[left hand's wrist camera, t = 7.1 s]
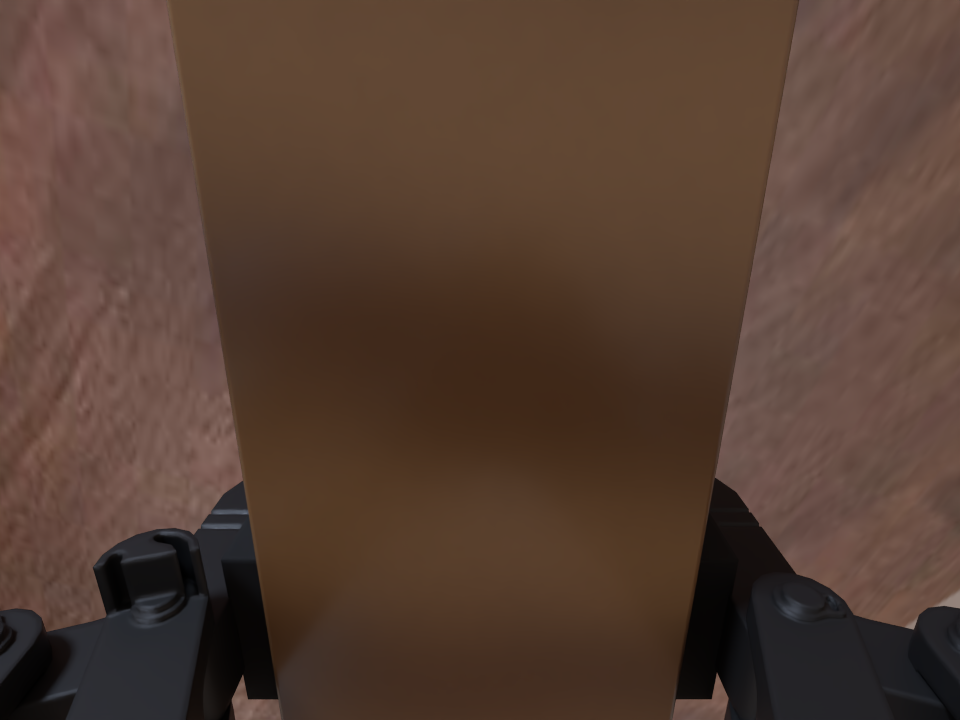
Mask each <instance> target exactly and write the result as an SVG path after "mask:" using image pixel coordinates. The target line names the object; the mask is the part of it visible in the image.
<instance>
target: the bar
mask: <svg viewBox="0 0 960 720" xmlns="http://www.w3.org/2000/svg"><path fill="white" fill-rule="evenodd" d="M166 2H167V8H168V15H169V21H170V27H171V33H172V40H173V46H174V52H175V58H176V64H177V71H178V77H179V83H180V89H181V96H182V102H183V108H184V114H185V121H186V127H187V133H188V139H189V145H190V152H191V158H192V164H193V170H194V177H195V183H196V189H197V195H198V202H199V208H200V214H201V220H202V226H203V233H204V239H205V245H206V251H207V258H208V264H209V270H210V276H211V283H212V289H213V295H214V301H215V307H216V314H217V320H218V326H219V332H220V339H221V345H222V351H223V357H224V364H225V370H226V376H227V382H228V388H229V395H230V401H231V407H232V413H233V420H234V426H235V432H236V438H237V445H238V451H239V457H240V463H241V469H242V476H243V482H244V488H245V494H246V501H247V507H248V513H249V519H250V526H251V532H252V538H253V544H254V551H255V557H256V563H257V569H258V575H259V582H260V588H261V594H262V600H263V607H264V613H265V619H266V625H267V632H268V638H269V644H270V650H271V656H272V663H273V669H274V675H275V681H276V688H277V694H278V700H279V706H280V713H281V719H282V720H672V718H673V712H674V706H675V701H676V695H677V689H678V684H679V678H680V672H681V667H682V661H683V655H684V650H685V644H686V638H687V633H688V627H689V621H690V616H691V610H692V604H693V599H694V593H695V587H696V582H697V576H698V570H699V565H700V559H701V553H702V548H703V542H704V536H705V531H706V525H707V519H708V514H709V508H710V502H711V497H712V491H713V485H714V480H715V474H716V468H717V463H718V457H719V451H720V446H721V440H722V434H723V429H724V423H725V417H726V412H727V406H728V400H729V395H730V389H731V383H732V377H733V372H734V366H735V360H736V355H737V349H738V343H739V338H740V332H741V326H742V321H743V315H744V309H745V304H746V298H747V292H748V287H749V281H750V275H751V270H752V264H753V258H754V253H755V247H756V241H757V236H758V230H759V224H760V219H761V213H762V207H763V202H764V196H765V190H766V185H767V179H768V173H769V168H770V162H771V156H772V151H773V145H774V139H775V134H776V128H777V122H778V117H779V111H780V105H781V100H782V94H783V88H784V83H785V77H786V71H787V66H788V60H789V54H790V49H791V43H792V37H793V32H794V26H795V20H796V15H797V9H798V3H799V0H166Z"/></svg>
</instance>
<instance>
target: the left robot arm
mask: <svg viewBox="0 0 960 720" xmlns="http://www.w3.org/2000/svg"><path fill="white" fill-rule="evenodd" d="M211 512H212V513H211V514H209V515H208V516H207V518H206V519H205V521H204V522H203V523H202V525H201V529H198V530H197V532H196V533H195V534H194V535H193V534H192V533H191V532H189V531H185V530H181V529H176V528H171V529H156V530H153V531H149V532H145V533H141V534H137V535H135V536H133V537H131V538H129V539H127V540H124V541H122V542H120V543H118V544H117V545H115V546H114V547H113V548H111V549H110V550H109V551H107V552H106V553H104V554H103V555H102V556H101V558H100V559H99V560H98V561H97V563H96V564H95V565H94V567H93V570H94V573H95V576H96V580H97V583H98V587H99V590H100V593H101V597H102V600H103V604H104V607H105V610H106V614H107V616H106V618H103V619H99V620H96V621H93V622H88V623H84V624H80V625H75V626H71V627H67V628H62V629H58V630H54V631H49V632H46V630H45V627H44V624H43V621H42V618H41V617H40V616H39V615H37V614H36V613H35V612H34V611H32V610H24V609H10V610H4V611H0V720H235V716H234V709H233V704H232V698H233V695H234V693H235V691H236V689H237V686H238V684H239V682H240V680H241V677H242V675H243V676H244V681H245V686H246V691H247V696H248V699H278V694H277V688H276V681H275V675H274V669H273V663H272V656H271V650H270V644H269V638H268V632H267V625H266V619H265V613H264V607H263V600H262V594H261V588H260V582H259V575H258V569H257V563H256V557H255V551H254V544H253V538H252V532H251V526H250V519H249V513H248V507H247V501H246V494H245V488H244V482H243V481H242V482H240V483H239V484H238V485H236V486H235V487H233V488H232V489H230V490H229V491H228V492H226V493H225V494H224V495H223V496H222V497H221V499H220V500H219V501H218V503H217V504H216V506H215V507H214V508H213V510H212V511H211ZM717 673H718V675H719V678H720V680H721V682H722V684H723V686H724V689H725V691H726V693H727V695H728V698H729V700H728V704H727V709H726V714H725V719H724V720H960V609H959V608H953V607H947V606H940V607H932V608H927V609H926V610H925V611H924V612H922V613H921V614H920V615H919V617H918V620H917V623H916V625H915V628H914V630H912V629H908V628H904V627H900V626H895V625H891V624H887V623H882V622H878V621H874V620H869V619H865V618H862V617H859V616H855V615H853V613H852V611H851V610H850V608H849V607H848V605H847V604H846V602H845V601H844V600H843V599H842V598H841V597H839V596H838V595H837V594H836V593H835V592H833V591H832V590H831V589H830V588H828V587H826V586H824V585H822V584H820V583H818V582H817V581H815V580H813V579H810V578H807V577H804V576H800V575H797V574H796V573H795V572H794V570H793V569H792V568H791V566H790V565H789V564H788V562H787V561H786V559H785V558H784V557H783V555H782V554H781V553H780V551H779V550H778V549H777V547H776V546H775V544H774V543H773V542H772V540H771V539H770V538H769V536H768V535H767V534H766V532H765V531H764V529H763V528H762V527H759V523H758V521H757V520H756V519H755V517H754V516H753V514H752V513H749V509H748V508H747V506H746V505H745V504H744V502H743V501H742V500H741V498H740V497H739V495H738V494H737V493H736V492H735V491H734V490H732V489H731V488H729V487H728V486H726V485H725V484H724V483H722V482H721V481H719V480H718V479H716V478H715V480H714V485H713V491H712V497H711V502H710V508H709V514H708V519H707V525H706V531H705V536H704V542H703V548H702V553H701V559H700V565H699V570H698V576H697V582H696V587H695V593H694V599H693V604H692V610H691V616H690V621H689V627H688V633H687V638H686V644H685V650H684V655H683V661H682V667H681V672H680V678H679V684H678V689H677V695H676V699H712V694H713V689H714V684H715V679H716V674H717Z"/></svg>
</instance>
